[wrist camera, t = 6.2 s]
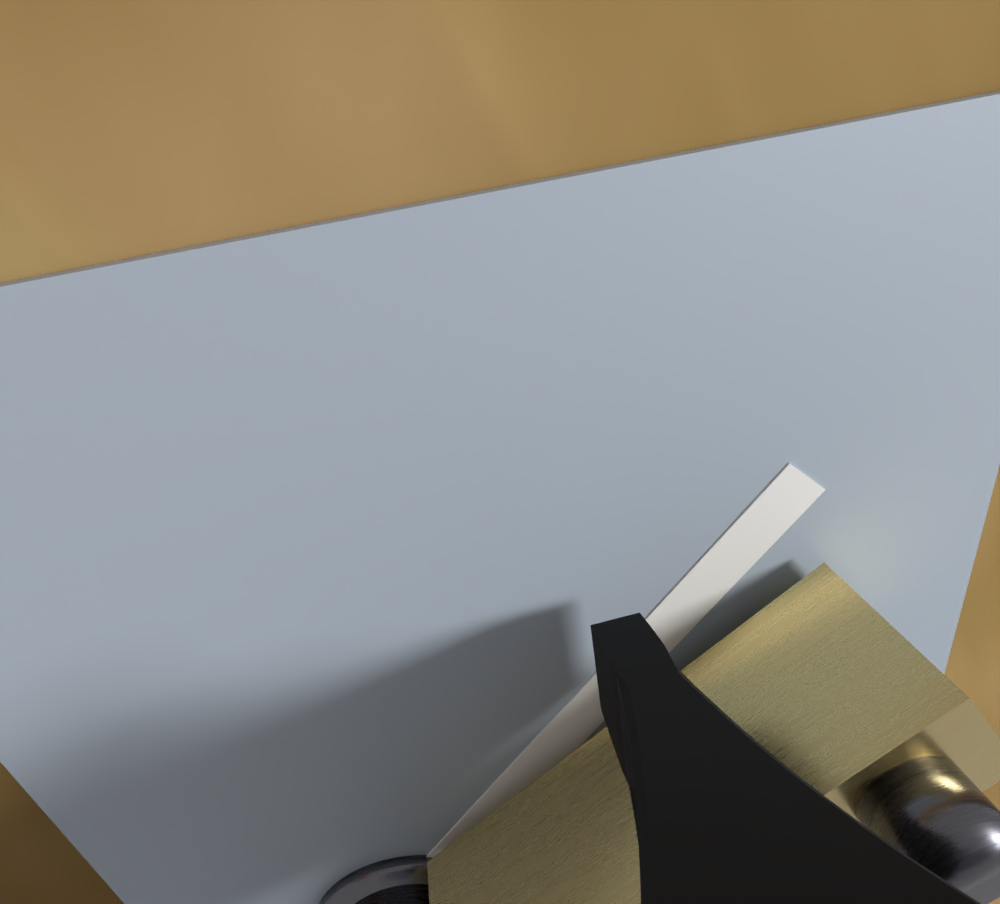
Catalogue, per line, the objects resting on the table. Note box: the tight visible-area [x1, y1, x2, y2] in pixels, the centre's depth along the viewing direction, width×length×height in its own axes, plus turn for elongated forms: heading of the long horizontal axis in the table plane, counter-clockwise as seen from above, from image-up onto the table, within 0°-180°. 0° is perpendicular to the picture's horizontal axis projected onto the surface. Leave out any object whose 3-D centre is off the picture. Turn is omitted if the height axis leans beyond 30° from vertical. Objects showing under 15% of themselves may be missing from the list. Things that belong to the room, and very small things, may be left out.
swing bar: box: [427, 563, 1000, 904], centre depth 10 cm, size 10×2×4 cm, turn 133°
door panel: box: [0, 91, 1000, 904], centre depth 12 cm, size 19×18×1 cm
